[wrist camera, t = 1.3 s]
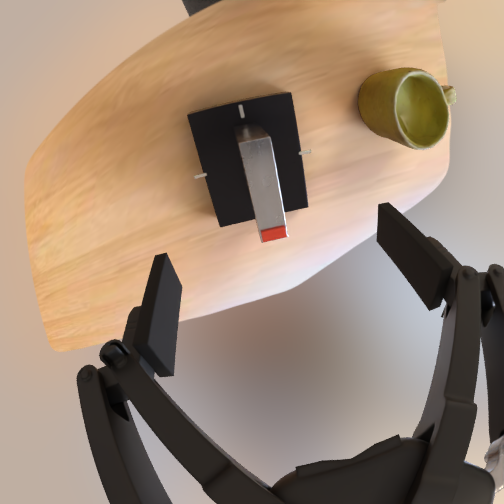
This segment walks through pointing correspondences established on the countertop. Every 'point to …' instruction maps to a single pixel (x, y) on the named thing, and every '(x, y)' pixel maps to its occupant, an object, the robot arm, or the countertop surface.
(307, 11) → the countertop surface
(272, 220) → the tap handle
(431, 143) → the mug
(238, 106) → the base
